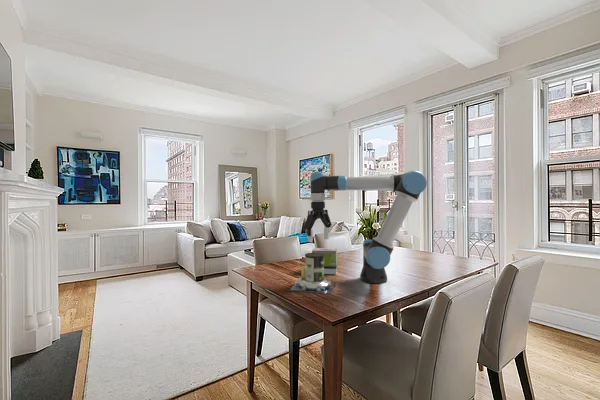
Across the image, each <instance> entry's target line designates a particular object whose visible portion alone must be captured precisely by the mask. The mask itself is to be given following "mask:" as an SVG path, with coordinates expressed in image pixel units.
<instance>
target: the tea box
mask: <svg viewBox="0 0 600 400" xmlns="http://www.w3.org/2000/svg"><path fill="white" fill-rule="evenodd" d="M311 253H322V254H324V275H337V273H338V249H337V248H332V247H331V248H327V247H325V248H323V247H322V248H321V247H314V248H313V249H312V250H311Z"/></svg>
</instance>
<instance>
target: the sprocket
mask: <svg viewBox="0 0 600 400" xmlns="http://www.w3.org/2000/svg"><path fill="white" fill-rule="evenodd" d="M300 269H301V270H300V271H301V272H300V273H301V277H299V278H297V281H295V282H294V285H295V286H299V287H301V288H302V290H307V289H308V290H317V291H321V290H323V289H327V288H328V289H331V288H332V285H334V281H335V280H334V279H330V280H329V279H327V278H326V277H325V276H324V282H322V283H308V282H306V281H305V265H303V266H301V268H300Z"/></svg>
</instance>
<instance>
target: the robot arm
mask: <svg viewBox="0 0 600 400" xmlns="http://www.w3.org/2000/svg"><path fill="white" fill-rule="evenodd" d="M427 184H428V180H427V178H426V176H425V174H424V173H423V172H421V171H417V170H410V171H409V170H408V172H405V173H401V174H394V175H393V174H391V176H372V177H371V176H368V177H367V176H363V177H362V176H361V177H360V176H359V177H358V176H353V177H352V176H351V177H348V176H346V175H341V174H340V175H327V176H326V175H325V173H324V172H323V171H322V172H318V171H317V172H312V173H311V174H310V208H311V210H307V211H308V212H307V217H306V220H305V222H304V223H305V224H304V227H303V229H305V230H306V234H307V242H308V243H313V242H314V239H313V237H314V235H313V233H314V232H313V229H312V228H313V226H314V225H315V223H316V221H317V220H319V219H320V221H321V222H322V224H323V225H324V227H323V239H324V240H329V239H330V228H331V227H332V221H331V218H330V216H329V210H328V209H325V208H326V202H325V200H326V195H325V194H326V192H325V191H390V192H391V193H395V194H396V195H395V198H394V200H393V203H392V204H391V207H390V208H389V210H388V213H387V214H386V217H385V218H384V221H383V224H382V225H381V227H380V230H379V232H378V233H377V235H376V236H375V237H372V239H364V240H363V244H362V250H363V251H362V252H363V253H362V255H363V257H362V269H361V272H360V273H359V280H360V281H362V282H363V283H369V284H384V283H387V282H388V275H387V272H386V269H385V268H386V267H387V266H388V265H389V264H390V262H391V255H392V253H393V250H394V246H393V243H394V242H395V239H396V238H397V235H398V233H399V231H400V229H401V227H402V225H403V223H404V221H405V219H406V216H408V215H407V214H408V213H409V210H410V208H411V206H412V205H413V203H414V202H418V201H417V200H418V199H419V197H420V195H421V193H423V192H424V191H425V190H426V188H427Z"/></svg>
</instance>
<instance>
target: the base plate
mask: <svg viewBox="0 0 600 400" xmlns="http://www.w3.org/2000/svg"><path fill="white" fill-rule="evenodd" d="M333 281H334V285H332V288H331V289H328V288H327V289H323V290H321V291H317V290H308V289H307V290H302V288H301V287H299V286H295V284H293V286H291V288H290V289H289V292H301V293H310V294H311V293H312V294H313V293H314V294H322V295H323V294H324V295H332V293H333V291H334V289H335V287H336V285H337V283H338V281H336V280H333Z"/></svg>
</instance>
